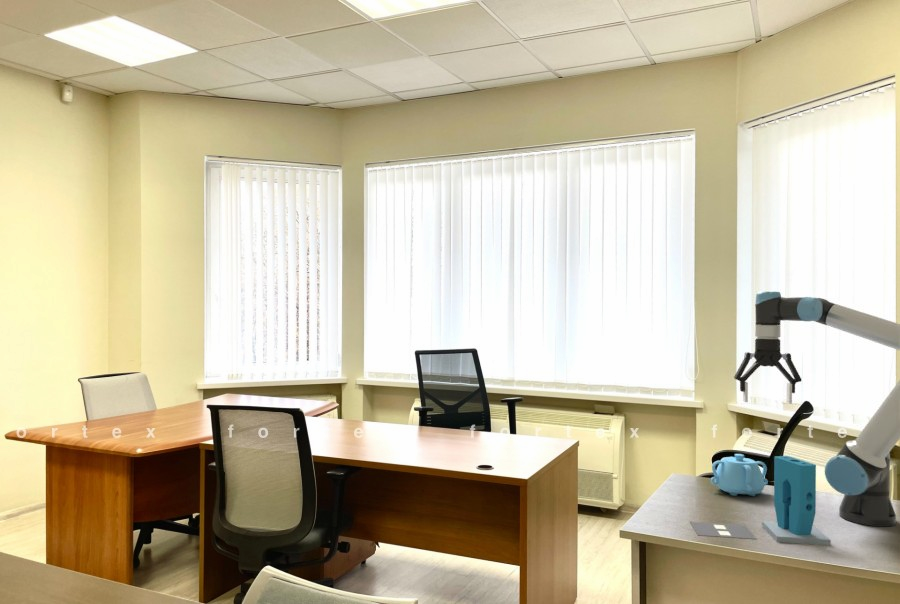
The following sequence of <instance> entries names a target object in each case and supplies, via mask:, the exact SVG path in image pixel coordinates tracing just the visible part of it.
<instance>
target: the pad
mask: <svg viewBox="0 0 900 604" xmlns="http://www.w3.org/2000/svg"><path fill="white" fill-rule="evenodd" d="M761 527H762V528H763V529H764V530H765V531H766V532H767V533H768V535H770V536H771V538H773V540H775V541H776V543H791V544H803V545H805V544H806V545H817V546H819V545H821V546H832V545H831V543H832V541H831V539H830V538H829V537H828V536H827V535H825V534H824V533H823V532H822V531H821V530H820V529H819V528H817V527H816V526H815V525H814V524H813V526H812V531H811V534H810V535H796V534H793V533H791V532H789V529H783V528H780V527H778V523H777V521H773V520H772V521H771V520H770V521H769V520H761Z"/></svg>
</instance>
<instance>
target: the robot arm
mask: <svg viewBox="0 0 900 604" xmlns="http://www.w3.org/2000/svg"><path fill="white" fill-rule="evenodd" d="M754 306H755V307H754V308H755V329H754V330H755V332H754V333H755V334H754V335H755V337H756V338H755V340H754V341H755V342H754V343H755V344H754V348H755V349H754V353H753V352H749V351H746V352H744V358H743V360H742V362H741V364H740V365H739V367H738V369H737V371H736V373H735V374H734V376H733V378H734V379H735V380H737V381H739V391H740V392H742V402H744V403H748V402H749V392H748V391H749V382H748V381H747V380H748V379H749V378H750V377H751V376H752V375H753V374H754V373H755V371H756V370H758V368H760V367H770V368H771V367H776V369H777V370H778V371H780V373H781V374H782V375H783V376H784V378H786V380H787V381H788V382H786V404H789V405H792V404H793V394H795V393H796V384H797V383H799V382H800V383H801V382H802V377H801V376H800V374H799V372H798V370H797V369H796V366H795V365H794V362H793V361H792V355H791V353H788V352H785V353H781V339H780V338H781V321H783V322H784V321H792V322H814V323H818V324H821V325H824V326H828V327H831V328H834V329H837V330H840V331H842V332H845V333H848V334H851V335H854V336H856V337H859V338H862V339H865V340H869V341H872V342H874V343H877V344H880V345H883V346H886V347H888V348H892V349H894V350H896V351H900V323H898V322H894V321H891V320H887V319H885V318H882V317H879V316H875V315H872V314H869V313H866V312H863V311H859V310H856V309H853V308H850V307H847V306H844V305H840V304H838V303H834V302H830V301H829V300H827V299H825V298H821V297H811V296H805V297H802V296H801V297H800V296H799V297H798V296H797V297H795V296H794V297H782V293H781V292H780V291H758V292H757V293H756V294H755V304H754ZM753 358H754V359H755V361H754V362H753V364H752V365H751V366H750V367H749V368H748V369H747V370H746V372H745V369H746V368H747V366H748V365H749V363H750V361H751V360H752V359H753ZM782 359H783V360H785V363H786V365H787V367H788V369H789V370H790V371H787V369H785V367H784V366H783V365H782V363H781V362H780V360H782ZM789 372H790V373H791V374H790V373H789ZM898 441H900V379H899V380H898V382H897V383H896V384H895V385H894V387H893V388H892V390H891V391H890V392H889V394H888V395H887V397H886V398H885V399H884V400H883V402H882V404H880V406H879V407H878V409H877V410H876V412H874V414H873V415H872V417H871V418H870V419H869V421H868V422H867V424H866V425H865V426H864V428H863V429H862V430H861V432H860V433H859V434H858V435H857V437H856V438H855V439H853V440H852V439H851V440H847V441H846V442H845V443H844V445H843V446H842V447H841V449H840V450H839V451H838V453H837V454H836V455H835V456H832V457H831V458H830V459H828V461H827V462H826V464H825V466H824V476H825V479H826V481H827V483H828V484H829V486H831V488H832V489H834V491H836V492H838V493H840V494H842V495H843V498H842V500H841V502H840V505H839V509H838V510H839V511H838V515H839V517H840V518H842V519H844V520H847V521H848V522H853V523H856V524H860V525H867V526H871V527H892V526H895V525H896V524H897V515H896V511H895V509H894V507H893V504H892V501H891V498H890V482H891V480H890V475H891V473H890V472H891V467H890V466H891V457H890V452H891V451H892V450H893V449H894V447H895V446H896V444H897V443H898Z"/></svg>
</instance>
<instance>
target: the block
mask: <svg viewBox="0 0 900 604" xmlns="http://www.w3.org/2000/svg"><path fill="white" fill-rule="evenodd" d="M773 459H774V465H773V466H774V468H773V470H774V473H773V475H774V479H773V481H774V482H773V496H774V497H773V503H774V510H775V516H776V522H777V523H778V527H780V528H783V529H789V532H791V533H793V534H796V535H810V534H811V531H812V526H813V525H814V521H815V516H816V513H817V512H816V509H817V508H816V503H817V501H816V500H817V499H816V497H817V495H816V493H817V491H816V489H817V488H816V487H817V484H816V483H817V480H816V479H817V465H816V464H814V463H812V462H809V461H805V460H801V459H798V458H795V457H791V456H790V455H779V456H777V455H776V456H774V458H773Z"/></svg>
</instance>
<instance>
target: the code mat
mask: <svg viewBox="0 0 900 604" xmlns="http://www.w3.org/2000/svg"><path fill="white" fill-rule="evenodd" d="M689 524H690V525H691V527H692V529H693V530H694V532H695V533H696V535H697V536H698V537H700V536H701V537H714V538H715V537H716V538H728V539H729V538H731V539H743V540H744V539H745V540H746V539H747V540H757V538H756V536H755V535H754V534H753V533H752V532H751V530H750V529H749V528H748V527H747V526H746V525H745V524H744V525H743V524H728V523H727V524H726V523H714V522H713V523H712V522H699V521H698V522H697V521H689Z"/></svg>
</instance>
